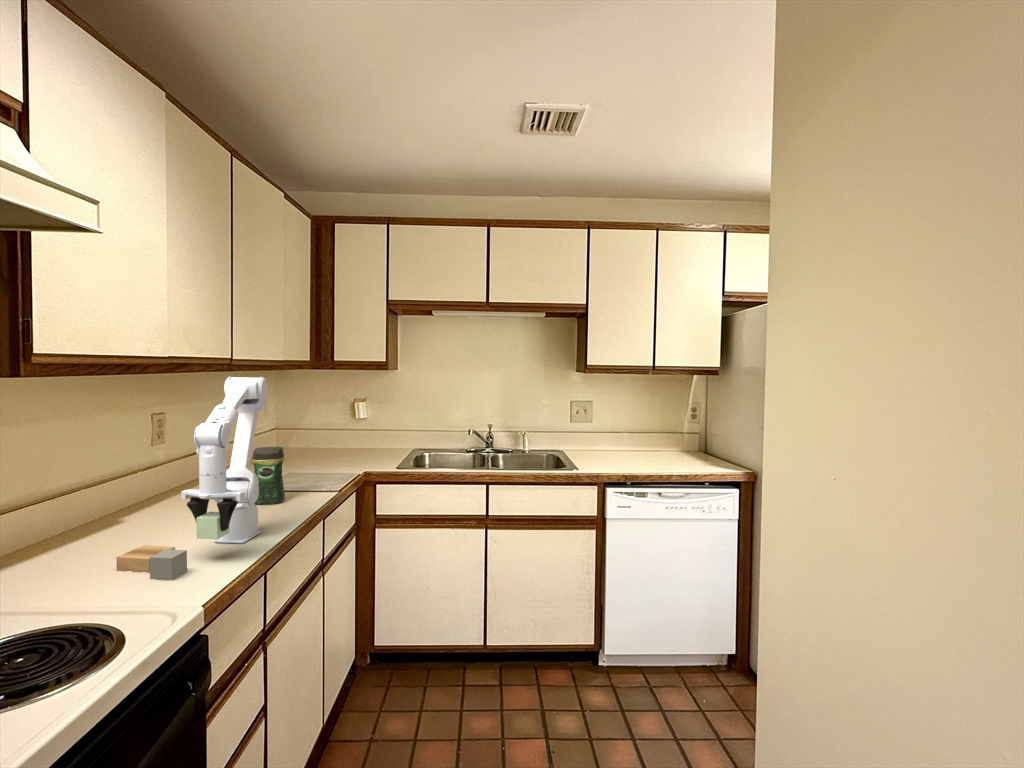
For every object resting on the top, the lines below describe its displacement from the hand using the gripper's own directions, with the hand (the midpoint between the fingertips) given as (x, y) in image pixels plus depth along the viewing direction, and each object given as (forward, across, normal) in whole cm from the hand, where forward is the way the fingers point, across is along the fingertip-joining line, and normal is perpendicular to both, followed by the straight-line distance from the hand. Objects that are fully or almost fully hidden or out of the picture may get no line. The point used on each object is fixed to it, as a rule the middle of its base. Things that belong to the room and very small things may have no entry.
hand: (213, 529), depth 131 cm
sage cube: (+2, 0, 0) cm, 2 cm away
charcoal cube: (+7, -4, -10) cm, 13 cm away
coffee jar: (+8, -13, +51) cm, 53 cm away
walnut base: (+8, -13, -5) cm, 16 cm away
